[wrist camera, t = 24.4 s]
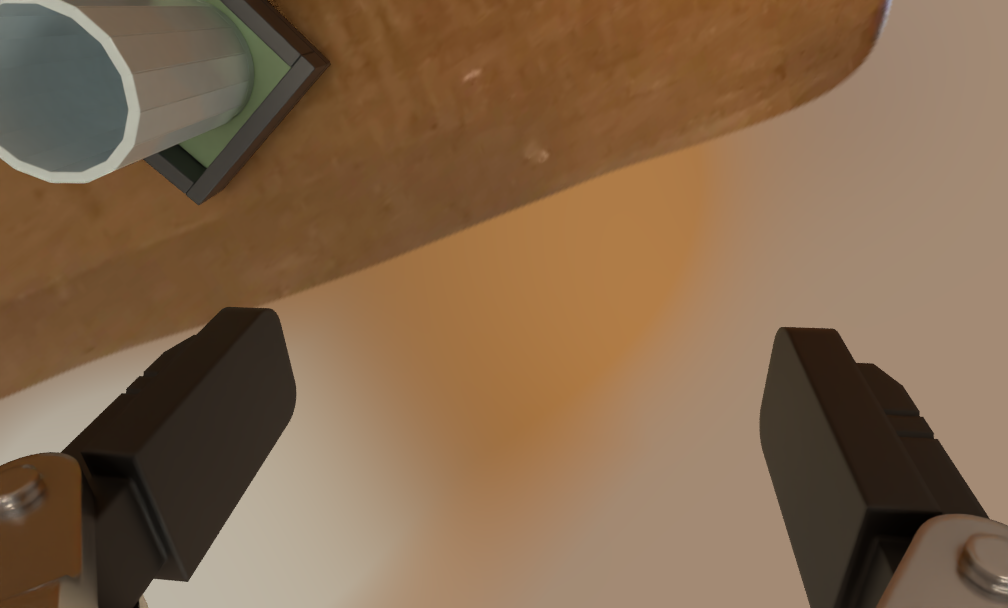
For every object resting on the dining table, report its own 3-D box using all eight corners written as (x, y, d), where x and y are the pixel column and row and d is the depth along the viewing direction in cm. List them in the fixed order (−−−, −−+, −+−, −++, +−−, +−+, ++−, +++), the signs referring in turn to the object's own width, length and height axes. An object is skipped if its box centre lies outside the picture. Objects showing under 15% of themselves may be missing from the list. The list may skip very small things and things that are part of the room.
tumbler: (280, 65, 31) (174, 93, 21) (207, 153, 33) (77, 218, 23) (173, -36, 29) (2, -58, 19) (102, 63, 31) (-89, 90, 21)
